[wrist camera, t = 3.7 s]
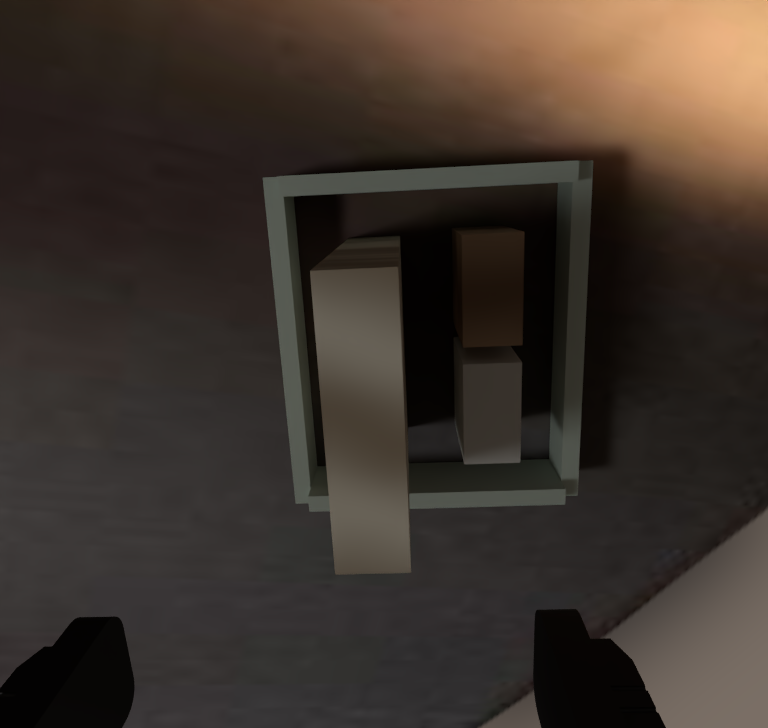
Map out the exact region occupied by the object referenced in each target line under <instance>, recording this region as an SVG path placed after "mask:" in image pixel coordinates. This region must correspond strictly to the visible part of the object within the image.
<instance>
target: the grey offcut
mask: <svg viewBox="0 0 768 728" xmlns="http://www.w3.org/2000/svg"><path fill="white" fill-rule="evenodd" d="M453 341H454V401H455V426H456V430H457V435H458V439H459V443H460V448H461V452H462V457H463V461H464V464H493V463H520V456H521V397H522V362H521V360H520V359H519V357H518V356H517V354H516V353H515V352H514V350H513V349H512V347H511V346H491V347H466V348H463V346H462V344H461V341H460V339H459V337H453Z"/></svg>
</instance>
